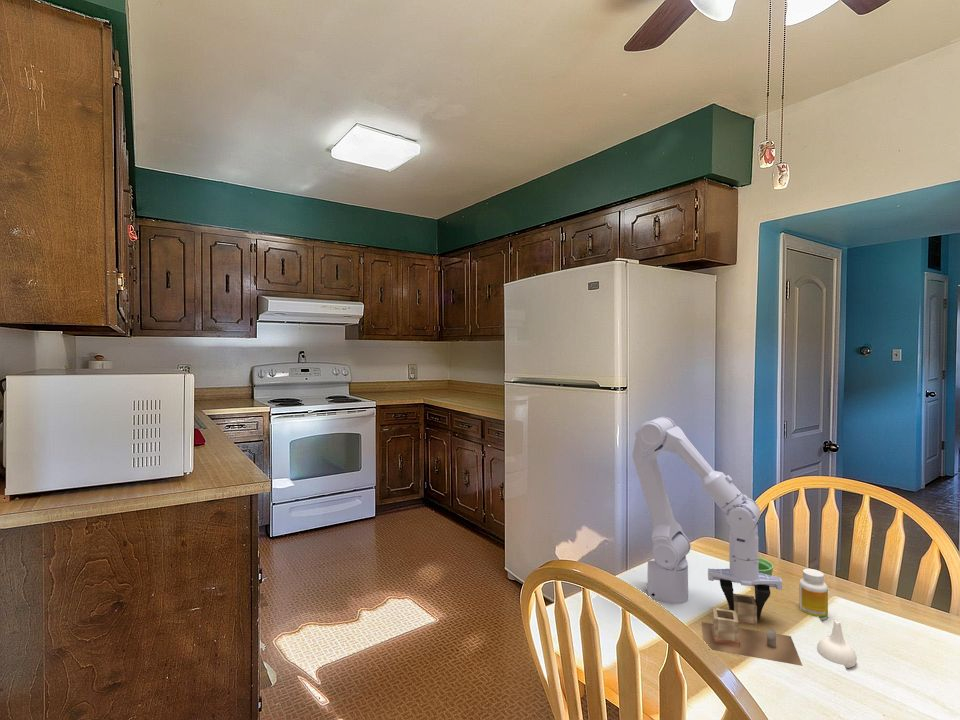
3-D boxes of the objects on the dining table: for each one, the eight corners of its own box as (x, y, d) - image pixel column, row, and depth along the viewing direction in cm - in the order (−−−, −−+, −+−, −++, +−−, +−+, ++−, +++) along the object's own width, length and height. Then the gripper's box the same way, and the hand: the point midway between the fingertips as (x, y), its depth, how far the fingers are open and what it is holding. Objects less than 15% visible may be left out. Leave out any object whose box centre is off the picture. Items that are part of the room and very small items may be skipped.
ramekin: (737, 568, 138) (737, 552, 138) (775, 576, 132) (775, 560, 132) (731, 581, 130) (731, 564, 130) (771, 590, 125) (771, 573, 125)
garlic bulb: (811, 658, 99) (809, 620, 99) (827, 645, 102) (825, 608, 102) (846, 676, 94) (845, 636, 93) (863, 662, 97) (861, 623, 96)
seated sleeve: (713, 642, 103) (712, 618, 102) (711, 629, 107) (711, 606, 107) (740, 647, 101) (740, 623, 101) (737, 633, 105) (737, 610, 105)
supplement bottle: (832, 621, 111) (832, 578, 110) (805, 619, 112) (805, 577, 111) (821, 609, 116) (821, 567, 116) (795, 607, 117) (795, 566, 117)
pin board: (704, 653, 101) (704, 633, 101) (701, 626, 110) (701, 608, 110) (802, 670, 95) (802, 650, 95) (790, 640, 104) (790, 621, 104)
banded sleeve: (733, 625, 110) (732, 603, 110) (730, 613, 115) (730, 592, 115) (758, 629, 109) (758, 606, 108) (755, 617, 113) (755, 595, 113)
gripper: (709, 558, 110) (709, 619, 111) (785, 567, 105) (785, 630, 105) (707, 545, 117) (707, 603, 117) (778, 553, 111) (778, 613, 112)
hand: (744, 615), depth 112 cm, fingers open, 4 cm apart
